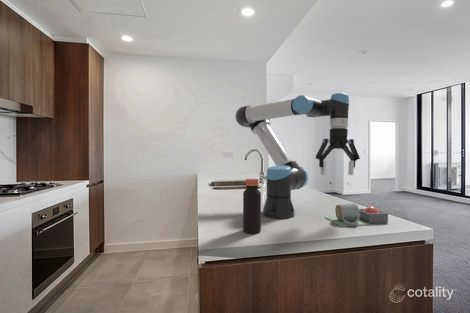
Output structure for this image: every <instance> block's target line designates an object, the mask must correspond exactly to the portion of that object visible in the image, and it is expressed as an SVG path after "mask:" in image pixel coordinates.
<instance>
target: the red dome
mask: <svg viewBox="0 0 470 313" xmlns="http://www.w3.org/2000/svg"><path fill="white" fill-rule="evenodd" d="M364 209H365V210H363V211H364V212H367V213H369V214H370V213H380V212H379V211H380V210H379V211H377V210H378V209H377V208H376V207H374V206H372V205H370V206H367V207H366V208H364Z"/></svg>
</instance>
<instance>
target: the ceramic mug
mask: <svg viewBox="0 0 470 313" xmlns="http://www.w3.org/2000/svg"><path fill="white" fill-rule="evenodd" d="M359 209H360V208H359V206H358V204H357V203H354V202H352V203H351V202H350V203H339V204H336V206H335V212H334V213H335V216H336V217H337V219H338V220H339V221H344V222H345V223H346V224H348V225H356V224H357V223H358V221H359V218H360V212H359ZM349 221H355V222H349Z"/></svg>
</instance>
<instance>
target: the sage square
mask: <svg viewBox="0 0 470 313" xmlns="http://www.w3.org/2000/svg"><path fill="white" fill-rule="evenodd" d="M324 218H325V219H326V220H329V221H331V222H332V223H334V224H336V225H338V226H340V227H359V226H370V225H371V223H367V222H364V221H362V220H360V219H359V221H358V223H357V224H356V225H348V224H346V223H345V222H344V221H339V220H338V219H337V217H336V215H335V216H325V217H324ZM349 222H355V221H349Z"/></svg>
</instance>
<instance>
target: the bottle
mask: <svg viewBox="0 0 470 313" xmlns="http://www.w3.org/2000/svg"><path fill="white" fill-rule="evenodd" d="M245 187H246V188H245V189H244V191H243V193H242V196H243V197H242V200H243V202H242V205H243V206H242V214H243V215H242V217H243V218H242V219H243V220H242V223H243V225H242V226H243V227H242V230H243V232H244V233H246V234H248V235H249V234H250V235H256V234H260V233H261V230H262V224H261V222H262V220H261V219H262V218H261V217H262V215H261V214H262V213H261V212H262V203H261V202H262V193H261V191H260V189H258V187H259V179H257V178H246V179H245Z"/></svg>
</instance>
